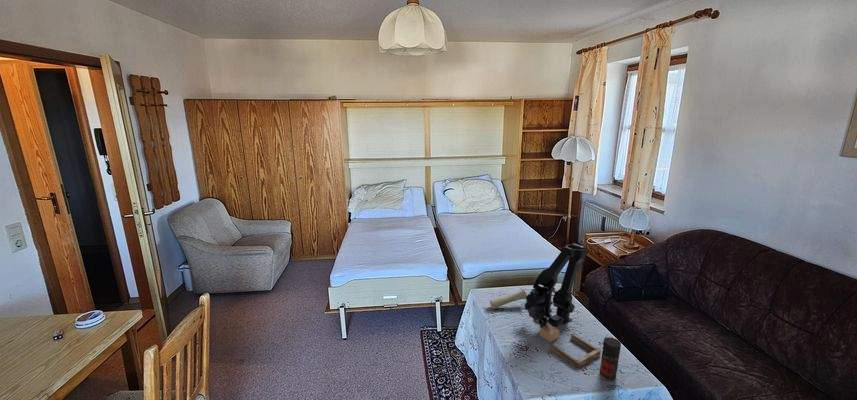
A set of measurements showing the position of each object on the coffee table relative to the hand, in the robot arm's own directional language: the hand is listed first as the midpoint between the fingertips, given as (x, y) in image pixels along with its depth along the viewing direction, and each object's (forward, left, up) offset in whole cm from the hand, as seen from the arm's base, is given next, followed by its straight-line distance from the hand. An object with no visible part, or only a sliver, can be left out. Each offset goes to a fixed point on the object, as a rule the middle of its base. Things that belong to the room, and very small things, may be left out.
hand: (541, 328), depth 170 cm
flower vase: (-9, -21, -1) cm, 23 cm away
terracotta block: (0, +5, -1) cm, 5 cm away
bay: (0, +19, -1) cm, 19 cm away
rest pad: (-6, -6, -1) cm, 8 cm away
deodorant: (0, +34, -1) cm, 34 cm away
